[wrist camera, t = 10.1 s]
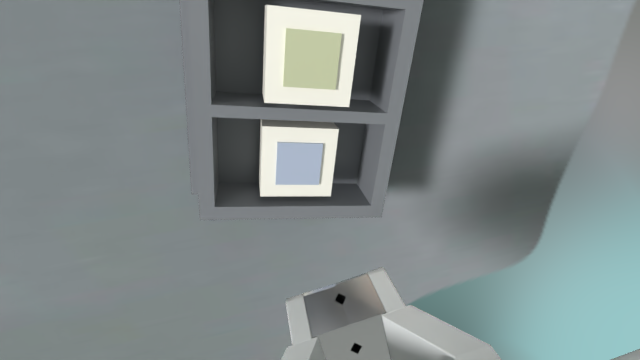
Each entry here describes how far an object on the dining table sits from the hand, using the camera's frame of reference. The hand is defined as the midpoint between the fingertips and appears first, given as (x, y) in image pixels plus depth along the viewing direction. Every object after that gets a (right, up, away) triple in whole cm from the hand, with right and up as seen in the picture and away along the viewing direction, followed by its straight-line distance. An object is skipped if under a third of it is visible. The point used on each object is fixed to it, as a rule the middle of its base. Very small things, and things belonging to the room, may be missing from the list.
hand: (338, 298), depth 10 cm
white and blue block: (-2, +5, +10) cm, 12 cm away
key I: (-1, +10, +7) cm, 12 cm away
